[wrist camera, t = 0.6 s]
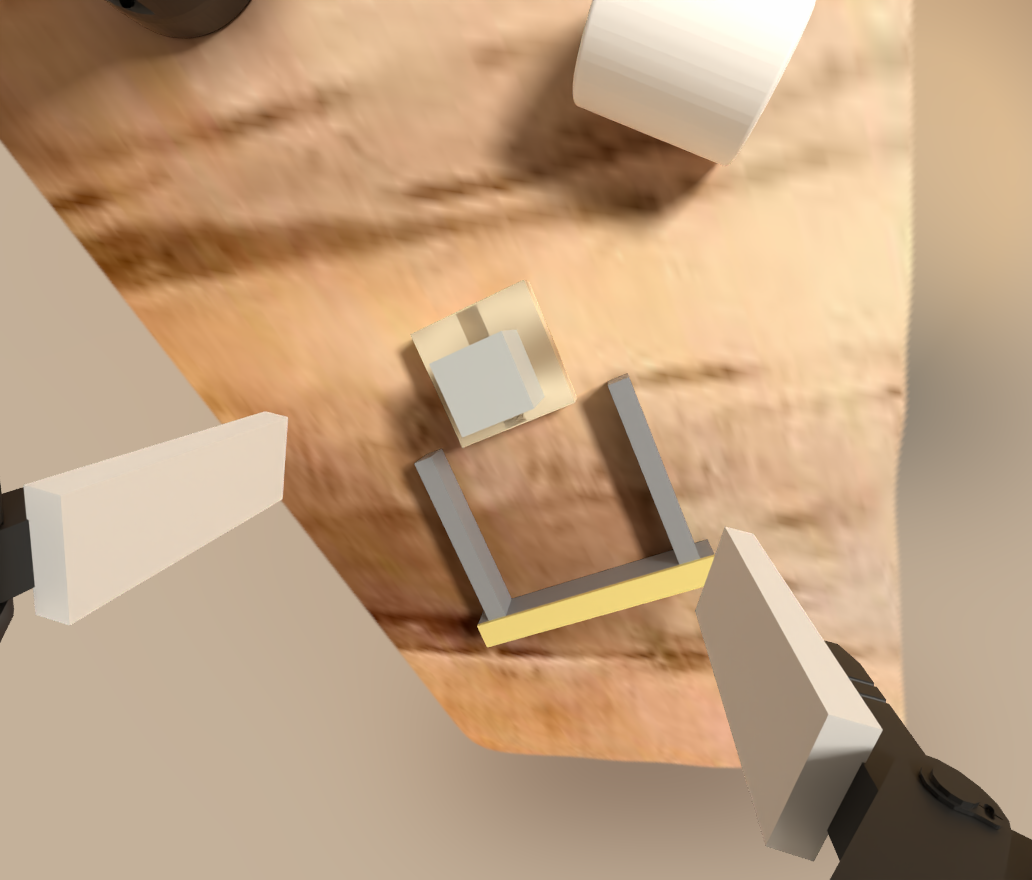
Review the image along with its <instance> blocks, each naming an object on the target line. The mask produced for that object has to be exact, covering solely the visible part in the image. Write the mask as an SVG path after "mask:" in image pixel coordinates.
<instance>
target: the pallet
mask: <svg viewBox="0 0 1032 880" xmlns="http://www.w3.org/2000/svg"><path fill="white" fill-rule="evenodd" d="M516 329H517V332H518V334H519V336H520V339H521V341H522V344H523V346H524V348H525V351H526V353H527V355H528V358H529V360H530V363H531V365H532V367H533V370H534V372H535V374H536V377H537V379H538V382H539V384H540V386H541V389H542V391H543V393H544V396H545V397H544V398H543V399H542V400H541V401H540V402H539V404H538V405H537V406H536V407H535V408H534V409H532V410H529V411H527V412H524V413H522V414H519V415H517V416H514V417H512V418H509V419H507V420H505V421H502V422H500V423H497V424H495V425H492V426H490V427H487V428H485V429H482V430H480V431H477V432H475V433H472V434H470V435H467V436H465V437H463V438H462V436H461V434H460V432H459V429H458V427H457V425H456V423H455V421H454V418H453V416H452V414H451V412H450V409H449V407H448V405H447V403H446V401H445V398H444V396H443V394H442V392H441V390H440V387H439V385H438V383H437V381H436V379H435V376H434V374H433V372H432V370H431V367H430V365H429V364H430V363H432V362H434V361H436V360H439V359H441V358H443V357H445V356H447V355H450V354H452V353H454V352H456V351H458V350H461V349H463V348H465V347H467V346H469V345H471V344H474V343H476V342H478V341H480V340H482V339H485V338H487V337H489V336H491V335H493V334H496V333H498V332H500V331H505V330H516ZM410 335H411V337H412V339H413V341H414V344H415V346H416V348H417V350H418V352H419V355H420V357H421V359H422V361H423V363H424V365H425V368H426V370H427V372H428V374H429V376H430V378H431V381H432V383H433V385H434V387H435V389H436V392H437V394H438V396H439V398H440V400H441V402H442V405H443V407H444V409H445V411H446V413H447V416H448V418H449V420H450V422H451V424H452V426H453V429H454V431H455V433H456V435H457V437H458V439H459V442H460V444H461V446H462V448H464V447H466V446H469V445H471V444H474V443H476V442H479V441H481V440H484V439H486V438H489V437H491V436H494V435H496V434H499V433H501V432H504V431H506V430H508V429H511V428H513V427H516V426H518V425H521V424H523V423H526V422H528V421H531V420H533V419H536V418H538V417H541V416H543V415H546V414H548V413H551V412H553V411H556V410H558V409H561V408H563V407H566V406H568V405H571V404H573V403H575V402H576V399H577V396H576V393H575V391H574V388H573V386H572V384H571V381H570V379H569V376H568V374H567V372H566V369H565V367H564V364H563V362H562V360H561V357H560V355H559V352H558V350H557V347H556V345H555V343H554V340H553V338H552V335H551V333H550V331H549V328H548V326H547V323H546V321H545V319H544V316H543V314H542V311H541V309H540V307H539V304H538V302H537V299H536V297H535V294H534V292H533V290H532V287H531V285H530V282H528V281H526V280H522V281H520V282H518V283H516V284H514V285H512V286H510V287H507V288H505V289H503V290H501V291H499V292H497V293H495V294H493V295H491V296H489V297H487V298H485V299H483V300H481V301H479V302H476V303H474V304H472V305H470V306H468V307H466V308H464V309H462V310H460V311H458V312H456V313H454V314H452V315H450V316H448V317H445V318H443V319H441V320H439V321H437V322H435V323H433V324H431V325H429V326H427V327H425V328H423V329H421V330H419V331H417V332H414V333H412V334H410Z"/></svg>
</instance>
